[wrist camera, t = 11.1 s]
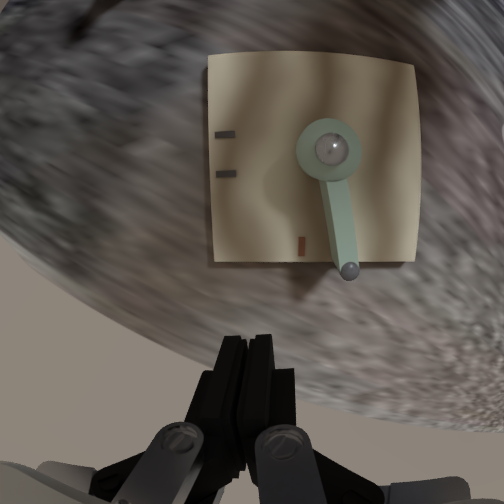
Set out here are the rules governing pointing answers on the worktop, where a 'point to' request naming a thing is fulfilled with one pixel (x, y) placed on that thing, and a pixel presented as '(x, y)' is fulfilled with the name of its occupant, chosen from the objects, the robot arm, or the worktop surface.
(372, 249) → the lock base
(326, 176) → the lock lever
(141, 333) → the worktop surface
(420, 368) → the worktop surface
